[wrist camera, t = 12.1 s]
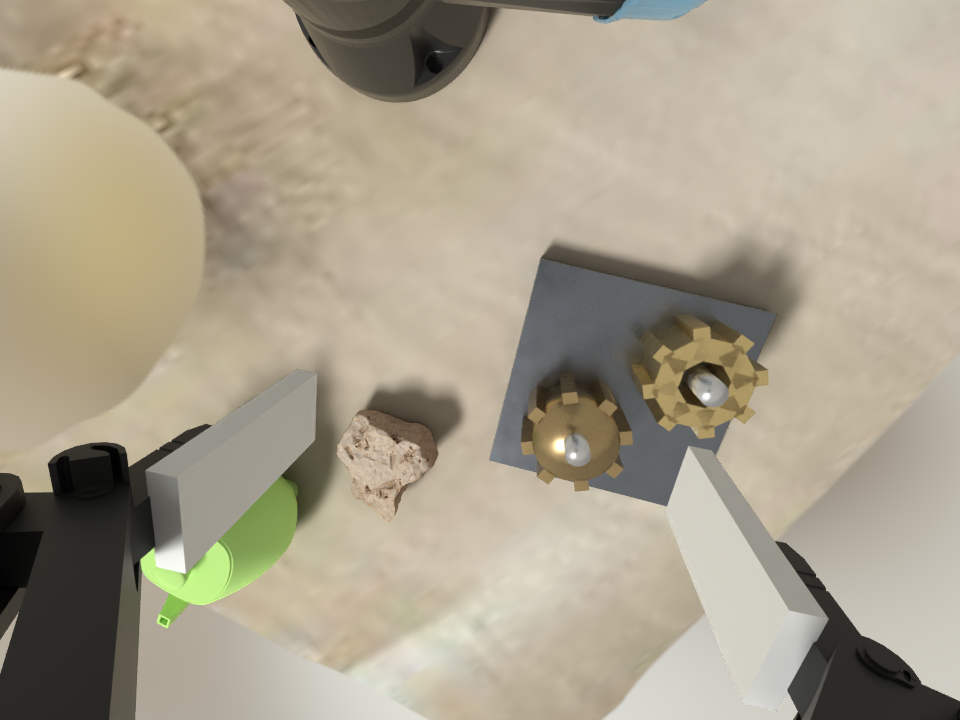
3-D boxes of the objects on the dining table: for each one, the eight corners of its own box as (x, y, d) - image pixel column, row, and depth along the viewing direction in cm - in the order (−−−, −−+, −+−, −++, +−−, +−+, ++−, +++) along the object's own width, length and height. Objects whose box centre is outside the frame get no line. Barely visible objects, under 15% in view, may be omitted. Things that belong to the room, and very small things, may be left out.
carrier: (540, 257, 40) (540, 267, 32) (768, 310, 39) (827, 334, 31) (490, 452, 46) (480, 502, 38) (685, 503, 45) (717, 564, 37)
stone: (450, 437, 47) (439, 461, 42) (393, 509, 50) (377, 539, 45) (378, 386, 46) (359, 405, 41) (326, 463, 50) (303, 489, 45)
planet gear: (651, 304, 39) (666, 316, 34) (755, 329, 38) (786, 344, 33) (619, 398, 41) (629, 421, 37) (716, 422, 41) (739, 448, 36)
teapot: (272, 581, 55) (199, 681, 43) (175, 525, 55) (73, 611, 43) (340, 462, 49) (276, 540, 37) (231, 397, 48) (130, 456, 36)
